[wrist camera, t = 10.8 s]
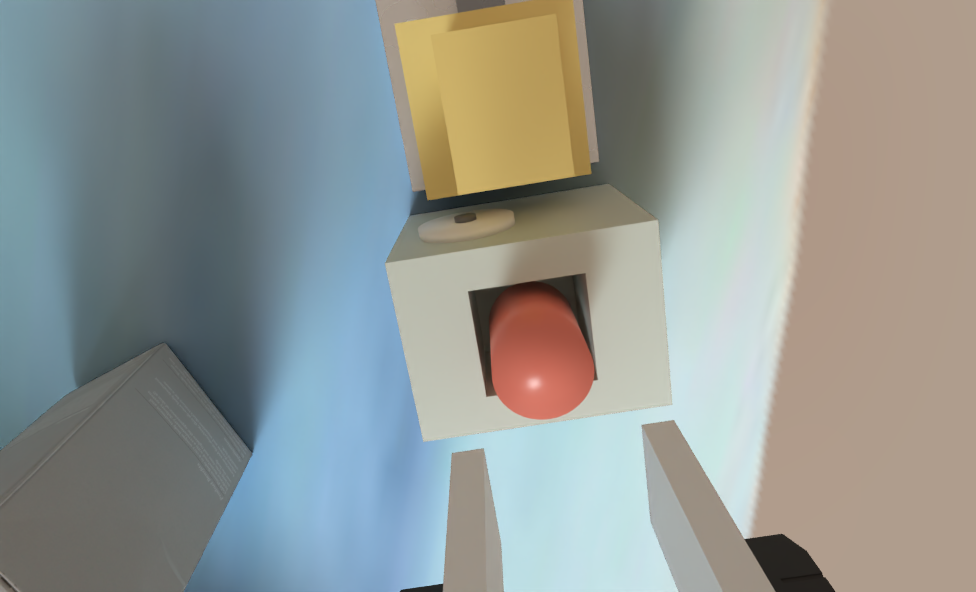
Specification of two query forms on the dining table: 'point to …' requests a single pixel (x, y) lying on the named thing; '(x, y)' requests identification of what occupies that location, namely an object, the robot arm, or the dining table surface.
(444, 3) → the rail base
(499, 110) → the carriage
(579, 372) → the button
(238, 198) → the dining table surface
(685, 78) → the dining table surface
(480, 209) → the cabinet
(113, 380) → the skincare box
